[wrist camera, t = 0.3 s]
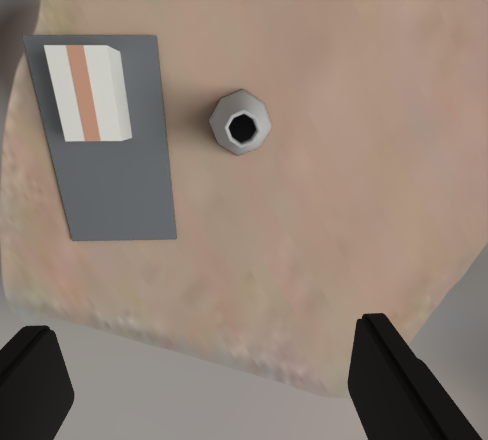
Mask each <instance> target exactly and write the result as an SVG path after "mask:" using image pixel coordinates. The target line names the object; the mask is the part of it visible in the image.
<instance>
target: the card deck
mask: <svg viewBox="0 0 488 440" xmlns="http://www.w3.org/2000/svg"><path fill="white" fill-rule="evenodd" d="M44 49H45V53H46V57H47V62H48V66H49V71H50V75H51V80H52V84H53V89H54V93H55V98H56V102H57V106H58V111H59V115H60V120H61V124H62V129H63V133H64V138H65V141H123V140H127V139H130V138H132V132H131V125H130V118H129V111H128V104H127V97H126V90H125V83H124V76H123V69H122V62H121V54H120V51H118V50H115V49H113V48H111V47H109V46H107V45H44Z"/></svg>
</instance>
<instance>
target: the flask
mask: <svg viewBox="0 0 488 440" xmlns="http://www.w3.org/2000/svg"><path fill="white" fill-rule="evenodd" d="M209 123H210V125H211V128H212V130H213V133H214V135H215V137H216V140H217V142H218V144H219V145H221V146H223V147H224V148H226V149H227V150H229V151H231V152H232V153H234V154H235V155H237V156H239V155H242V154H244V153H247V152H249V151H252V150H254V149H257V148H259V147H260V146H261V144H262V143H263V141H264V139H265V138H266V136H267V135H268V133H269V131H270V130H271V128H272V125H271V121H270V118H269V115H268V112H267V109H266V106H265V103H264V102H262V101H261V100H259V99H258V98H256V97H255V96H253V95H252V94H251V93H249V92H248V91H246V90H245V89H242V90H240V91H237V92H235V93H233V94H230V95H228V96H225V97H223V98H221V99H220V101H219V103H218V104H217V106H216V108H215V110H214V112H213V113H212V115H211V117H210V119H209Z"/></svg>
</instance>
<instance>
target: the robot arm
mask: <svg viewBox="0 0 488 440" xmlns="http://www.w3.org/2000/svg"><path fill="white" fill-rule="evenodd" d="M348 389H349V393H350V396H351V398H352V401H353V403H354V406H355V408H356V411H357V413H358V415H359V418H360V420H361V423H362V425H363V428H364V430H365V433H366V435H367V438H368V440H482V439H481V437H480V436H479V435H478V433H477V432H476V431H475V429H474V428H473V427H472V425H471V424H470V423H469V422H468V420H467V419H466V417H465V416H464V415H463V413H462V412H461V411H460V409H459V408H458V407H457V405H456V404H455V403H454V401H453V400H452V399H451V397H450V396H449V395H448V394H447V392H446V391H445V389H444V388H443V387H442V385H441V384H440V383H439V381H438V380H437V379H436V378H435V376H434V375H433V374H432V372H431V371H430V369H428V367H427V366H426V364H425V363H424V362H423V361H422V360H420V359H418V358H417V357H416V356H415V354H414V353H413V352H412V350H411V349H410V348H409V346H408V345H407V344H406V342H405V341H404V340H403V338H402V337H401V335H400V334H399V333H398V331H397V330H396V329H395V327H394V326H393V325H392V323H391V322H390V321H389V319H388V318H387V316H386V315H385V314H383V313H374V314H363V316H362V319H358V320H357V323H356V330H355V336H354V343H353V350H352V356H351V363H350V370H349V376H348ZM73 401H74V391H73V388H72V384H71V381H70V378H69V375H68V372H67V369H66V365H65V362H64V359H63V356H62V353H61V350H60V347H59V344H58V340H57V337H56V334H55V332H54V331H53V330H50V328H49V327H48V326H44V325H43V326H26V327H23V328H22V329H21V330H20V331H19V332H18V333H17V334H16V335H15V336H14V337H13V338H12V339H11V340H10V341H9V342H8V343H7V344H6V345H5V346H4V347H3V348H2V349H1V350H0V440H53V439H54V437H55V436H56V434H57V432H58V430H59V428H60V426H61V425H62V423H63V421H64V419H65V417H66V416H67V414H68V412H69V410H70V408H71V406H72V404H73Z"/></svg>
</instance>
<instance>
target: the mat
mask: <svg viewBox="0 0 488 440" xmlns="http://www.w3.org/2000/svg"><path fill="white" fill-rule="evenodd" d="M22 38H23V42H24V46H25V50H26V54H27V58H28V62H29V66H30V70H31V74H32V78H33V82H34V86H35V90H36V95H37V99H38V103H39V107H40V111H41V115H42V119H43V123H44V127H45V131H46V135H47V139H48V143H49V147H50V151H51V155H52V159H53V164H54V168H55V172H56V176H57V180H58V184H59V188H60V192H61V196H62V200H63V204H64V208H65V212H66V216H67V220H68V224H69V228H70V233H71V237H72V241H109V240H168V239H177V234H176V224H175V214H174V204H173V194H172V184H171V174H170V164H169V154H168V144H167V134H166V124H165V113H164V103H163V93H162V83H161V73H160V63H159V53H158V43H157V36H58V35H29V36H28V35H27V36H26V35H25V36H24V35H22ZM44 45H107V46H109V47H111V48H113V49H115V50H118V51H120V54H121V62H122V69H123V76H124V83H125V90H126V97H127V104H128V111H129V118H130V125H131V132H132V138H130V139H127V140H123V141H65V138H64V133H63V129H62V124H61V120H60V115H59V111H58V106H57V102H56V98H55V93H54V89H53V84H52V80H51V75H50V71H49V66H48V62H47V57H46V53H45V49H44Z"/></svg>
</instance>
